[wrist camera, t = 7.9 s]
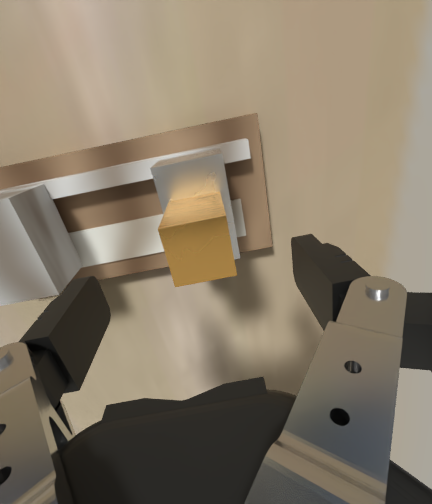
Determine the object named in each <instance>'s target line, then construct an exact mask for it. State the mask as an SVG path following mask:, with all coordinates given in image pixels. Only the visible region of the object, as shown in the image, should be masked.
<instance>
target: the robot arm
mask: <svg viewBox="0 0 432 504" xmlns="http://www.w3.org/2000/svg"><path fill="white" fill-rule="evenodd" d="M291 248H292V261H293V274H294V279H295V282H296V285H297V287H298V289H299V290H300V292H301V294H302V295H303V297H304V299H305V300H306V302H307V304H308V305H309V307H310V309H311V310H312V312H313V314H314V315H315V317H316V319H317V320H318V322H319V323H320V325H321V327H322V328H323V330H324V333H323V335H322V338H321V340H320V342H319V345H318V347H317V350H316V352H315V354H314V357H313V359H312V362H311V364H310V366H309V369H308V371H307V374H306V376H305V378H304V381H303V383H302V386H301V388H300V390H299V393H298V395H297V396H295V395H292V394H289V393H286V392H281V391H276V390H266V386H265V382H264V378H263V377H259V378H254V379H248V380H242V381H237V382H231V383H226V384H223V385H220V386H218V387H216V388H213V389H211V390H208V391H206V392H204V393H201V394H199V395H197V396H194V397H192V398H190V399H187V400H183V401H177V400H163V399H148V398H143V399H138V400H132V401H127V402H121V403H116V404H110V405H106V408H105V411H104V414H103V418H102V420H101V421H99V422H97V423H95V424H93V425H91V426H89V427H88V428H86V429H85V430H83V431H81V432H80V433H78V434H77V435H76V434H75V432H74V429H73V426H72V424H71V421H70V419H69V416H68V413H67V411H66V408H65V406H64V404H63V402H62V401H61V397H62V395H63V393H68V392H74V391H79V390H80V388H81V386H82V384H83V381H84V379H85V377H86V374H87V372H88V370H89V368H90V365H91V363H92V361H93V359H94V356H95V354H96V352H97V350H98V347H99V345H100V343H101V340H102V338H103V336H104V334H105V331H106V329H107V327H108V325H109V322H110V316H111V315H110V308H109V305H108V303H107V301H106V298H105V296H104V294H103V291H102V289H101V287H100V285H99V282H98V280H97V279H96V277H95V276H88V277H83V278H78V279H73V280H72V281H71V283H70V284H69V285H68V286H67V288H66V289H65V290H64V291H63V293H62V294H61V295H60V296H58V297H57V298H56V299H54V300H53V301H52V302H51V303H50V304H49V305H48V306H47V308H46V309H45V310H44V313H42V314H41V315H40V316H39V317H38V320H36V321H35V322H34V324H33V325H32V326H31V327H30V328H29V330H28V331H27V332H26V333H25V335H24V336H23V337H22V338H21V340H20V341H19V342H16V343H11V344H8V345H5V346H3V347H1V348H0V504H432V489H430V488H428V487H427V486H426V485H425V484H423V483H422V482H420V481H419V480H418V479H416V478H415V477H413V476H412V475H411V474H409V473H408V472H407V471H405V470H404V469H402V468H401V467H400V466H398V465H397V464H395V463H394V462H393V461H391V460H390V451H391V442H392V433H393V423H394V414H395V405H396V396H397V387H398V378H399V368H411V369H422V370H431V372H432V293H412V292H407V291H406V289H405V288H404V286H403V285H401V284H400V283H398V282H396V281H394V280H392V279H389V278H385V277H378V276H370V275H369V274H368V273H367V272H366V271H365V270H364V269H362V268H361V267H360V266H359V265H358V264H357V263H356V262H355V261H352V259H351V258H350V257H349V256H348V255H346V253H344V252H343V251H342V250H341V249H340V248H339V247H336V246H334V245H331V244H329V243H325V244H322V243H321V242H320V241H319V240H317V239H316V238H315V237H314V236H313V235H312V234H308V235H303V236H297V237H292V240H291Z"/></svg>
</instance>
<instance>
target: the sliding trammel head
mask: <svg viewBox="0 0 432 504" xmlns="http://www.w3.org/2000/svg"><path fill="white" fill-rule="evenodd" d="M150 169H151V172H152V176H153V179H154V183H155V186H156V190H157V193H158V197H159V200H160V204H161V207H162V211H163V214H164V215H163V217H162V220H161V222H160V225H159V227H158V232H159V235H160V239H161V242H162V245H163V249H164V252H165V255H166V258H167V262H168V265H169V268H170V272H171V275H172V278H173V281H174V285H175V287H179V286H184V285H189V284H195V283H200V282H205V281H210V280H216V279H221V278H226V277H231V276H237V272H236V266H235V261H234V259H240V253H239V247H238V242H237V236H236V230H235V224H234V218H233V213H232V207H231V201H230V195H229V189H228V184H227V178H226V172H225V166H224V160H223V155H222V152H221V150H220V149H219V148H216V149H211V150H206V151H202V152H197V153H192V154H187V155H182V156H178V157H173V158H168V159H163V160H159V161H157V162H156V163H155V164H154V165H153V166H152V167H151V168H150Z"/></svg>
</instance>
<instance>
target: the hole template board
mask: <svg viewBox="0 0 432 504" xmlns="http://www.w3.org/2000/svg"><path fill="white" fill-rule="evenodd" d="M216 148H219V149H220V150H221V152H222V155H223V160H224V166H225V172H226V178H227V184H228V189H229V195H230V201H231V207H232V213H233V218H234V224H235V230H236V236H237V242H238V247H239V253H241V252H246V251H252V250H257V249H262V248H267V247H272V238H271V229H270V220H269V212H268V203H267V194H266V185H265V176H264V168H263V159H262V150H261V141H260V132H259V123H258V115H257V113H254V114H249V115H244V116H240V117H235V118H230V119H226V120H221V121H216V122H212V123H207V124H202V125H197V126H193V127H188V128H183V129H179V130H174V131H169V132H165V133H160V134H155V135H150V136H146V137H141V138H136V139H132V140H127V141H122V142H117V143H113V144H108V145H103V146H99V147H94V148H89V149H85V150H80V151H75V152H70V153H66V154H61V155H56V156H52V157H47V158H42V159H38V160H33V161H28V162H23V163H19V164H14V165H9V166H5V167H0V305H1V306H2V305H8V304H13V303H18V302H23V301H28V300H34V299H39V298H44V297H49V296H54V295H59V294H60V293H61V292H62V291H63V289H64V288H65V287H66V286H68V285H69V284H70V283H71V281H72V280H73V279H78V278H83V277H88V276H95V277H96V279H97V280H101V279H106V278H112V277H117V276H122V275H127V274H132V273H138V272H143V271H148V270H153V269H158V268H164V267H169V265H168V262H167V258H166V255H165V252H164V249H163V245H162V242H161V239H160V235H159V232H158V227H159V225H160V222H161V220H162V217H163V215H164V214H163V211H162V207H161V204H160V200H159V197H158V193H157V190H156V186H155V183H154V179H153V176H152V172H151V169H150V168H151V167H152V166H153V165H154V164H155V163H156V162H157V161H159V160H163V159H168V158H173V157H178V156H182V155H187V154H192V153H197V152H202V151H206V150H211V149H216Z"/></svg>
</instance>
